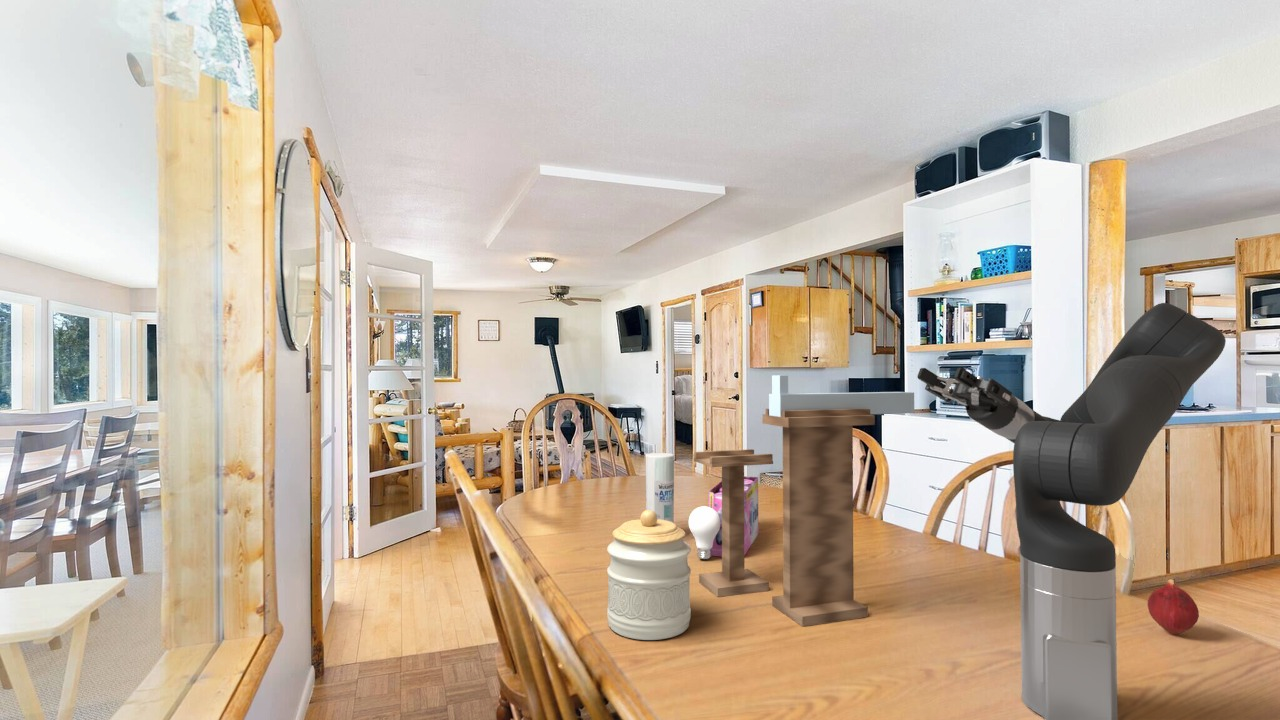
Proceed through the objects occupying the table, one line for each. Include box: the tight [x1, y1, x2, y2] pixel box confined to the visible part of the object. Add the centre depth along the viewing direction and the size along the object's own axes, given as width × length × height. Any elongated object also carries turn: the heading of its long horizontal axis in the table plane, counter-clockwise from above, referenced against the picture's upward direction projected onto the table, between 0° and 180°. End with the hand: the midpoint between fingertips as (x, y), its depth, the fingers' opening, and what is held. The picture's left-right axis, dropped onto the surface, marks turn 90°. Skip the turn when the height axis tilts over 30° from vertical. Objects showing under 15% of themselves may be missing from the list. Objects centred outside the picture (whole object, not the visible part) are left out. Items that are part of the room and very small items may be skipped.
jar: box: [606, 509, 692, 641], centre depth 98 cm, size 13×13×18 cm
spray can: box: [645, 452, 675, 524], centre depth 144 cm, size 6×6×20 cm
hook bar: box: [768, 374, 915, 417], centre depth 105 cm, size 26×4×6 cm, turn 108°
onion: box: [1147, 578, 1200, 635], centre depth 94 cm, size 6×6×8 cm
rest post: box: [693, 449, 774, 598], centre depth 115 cm, size 12×8×24 cm, turn 108°
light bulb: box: [688, 505, 721, 561], centre depth 131 cm, size 7×7×11 cm
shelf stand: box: [761, 408, 876, 627], centre depth 103 cm, size 16×9×33 cm, turn 108°
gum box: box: [707, 475, 760, 558], centre depth 142 cm, size 24×8×14 cm, turn 161°
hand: (938, 372), depth 112 cm, fingers open, 8 cm apart
